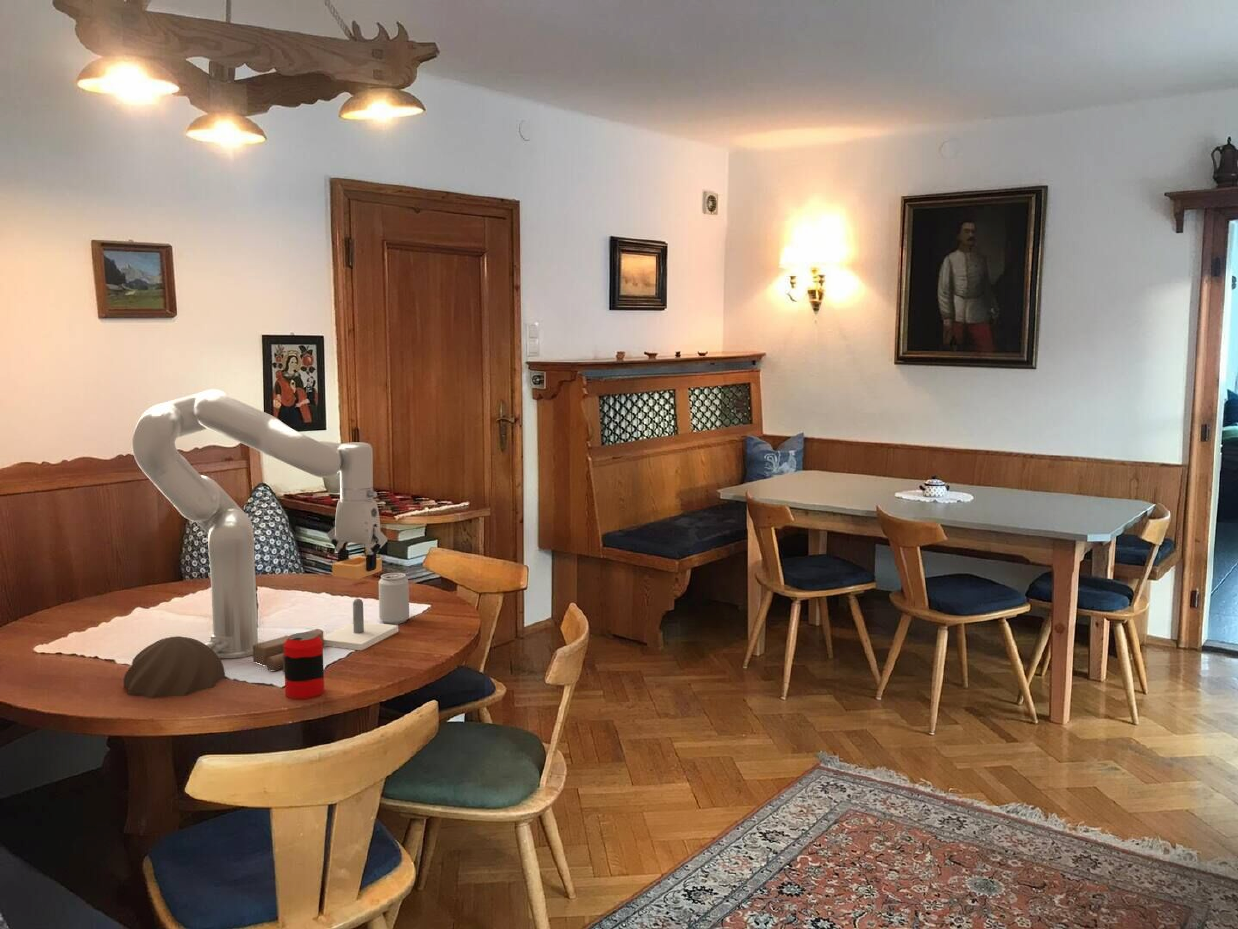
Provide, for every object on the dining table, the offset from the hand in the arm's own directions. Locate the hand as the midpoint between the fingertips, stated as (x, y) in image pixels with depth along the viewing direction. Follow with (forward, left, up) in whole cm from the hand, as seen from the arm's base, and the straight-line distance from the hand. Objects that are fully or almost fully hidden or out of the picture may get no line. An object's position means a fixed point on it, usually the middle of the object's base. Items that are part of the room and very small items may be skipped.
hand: (357, 568), depth 244 cm
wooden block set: (-18, +2, -18) cm, 26 cm away
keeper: (0, 0, -17) cm, 17 cm away
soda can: (-36, -11, -18) cm, 41 cm away
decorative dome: (-39, +19, -18) cm, 47 cm away
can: (+16, 0, -18) cm, 24 cm away
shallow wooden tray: (0, 0, -1) cm, 1 cm away
